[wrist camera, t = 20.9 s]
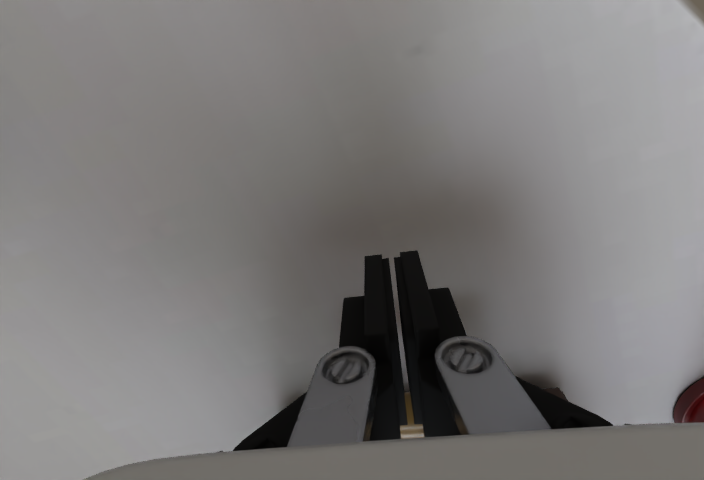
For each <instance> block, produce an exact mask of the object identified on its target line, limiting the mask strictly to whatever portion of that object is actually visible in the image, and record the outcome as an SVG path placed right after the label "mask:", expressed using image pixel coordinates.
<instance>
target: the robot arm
mask: <svg viewBox="0 0 704 480" xmlns="http://www.w3.org/2000/svg"><path fill="white" fill-rule="evenodd" d="M394 263H395V272H396V281H397V291H398V300H399V310H400V319H401V328H402V337H403V344H404V351H405V359H406V366H407V373H408V381H409V388H410V395H411V403H412V410H413V417H414V424H422V425H423V431H424V437H425V438H410V439H401V432H400V426H401V425H408V422H407V413H406V404H405V395H404V386H403V377H402V368H401V359H400V351H399V342H398V333H397V324H396V316H395V308H394V299H393V291H392V282H391V274H390V266H389V258H385V259H382V255H372V256H365V281H364V296H359V297H349V298H344V302H343V312H342V322H341V332H340V343H339V348H337V349H334V350H332V351H330V352H329V353H327V354H326V355H324V356H323V357H322V358H321V359H320V361H319V363H318V364H317V366H316V369H315V372H314V375H313V377H312V380H311V383H310V385H309V388H308V391H307V392H306V393H305V394H303V395H302V396H301V397H299V398H298V399H297V400H295V401H294V402H293V403H291V404H290V405H289V406H287V407H286V408H285V409H284V410H282V411H281V412H280V413H278V414H277V415H276V416H274V417H273V418H272V419H270V420H269V421H268V422H266V423H265V424H264V425H262V426H261V427H260V428H259V429H257V430H256V431H255V432H253V433H252V434H251V435H249V436H248V437H247V438H245V439H244V440H243V441H242V442H241V443H240V444H239V445H238V446H237V447H235V449H234V450H233V451H229V452H223V451H219V452H216V453H205V454H196V455H187V456H178V457H169V458H160V459H153V460H148V461H143V462H138V463H132V464H128V465H124V466H121V467H117V468H114V469H111V470H107V471H104V472H101V473H98V474H96V475H93V476H91V477H88V478H86V479H83V480H704V422H701V423H661V424H639V425H632V424H625V425H622V426H613V425H612V424H611V423H610V422H608V421H606V420H605V419H603V418H601V417H600V416H598V415H596V414H594V413H591V412H589V411H587V410H585V409H583V408H581V407H579V406H577V405H575V404H572V403H570V402H568V401H566V400H564V399H562V398H560V397H558V396H556V395H553V394H551V393H549V392H547V391H545V390H543V389H541V388H539V387H537V386H534V385H532V384H530V383H528V382H526V381H524V380H522V379H520V378H518V377H515V376H514V375H513V373H512V372H511V370H510V369H509V368H508V366H507V365H506V363H505V362H504V361H503V359H502V358H501V356H500V355H499V353H498V352H497V351H496V350H495V348H494V347H493V346H492V345H491V344H489V343H487V342H485V341H484V340H481V339H478V338H475V337H469V336H467V335H466V332H465V330H464V327H463V325H462V322H461V319H460V317H459V314H458V311H457V309H456V306H455V303H454V301H453V298H452V295H451V293H450V290H449V288H438V289H428V286H427V283H426V279H425V276H424V272H423V269H422V265H421V262H420V258H419V255H418V251H408V252H400V257H394Z"/></svg>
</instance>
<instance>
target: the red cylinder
mask: <svg viewBox="0 0 704 480" xmlns="http://www.w3.org/2000/svg"><path fill="white" fill-rule="evenodd" d="M673 415H674V422H675V423H701V422H704V378H702V379H700V380H699V381H697V382H696V383H694V384H693V385H692V386H690V387H689V388H688V389H687V390H686V391H685V392H684V393H683V394H682V395H681V397H680V398H679V400H678V401H677V403H676V406H675V408H674V414H673Z"/></svg>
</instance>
